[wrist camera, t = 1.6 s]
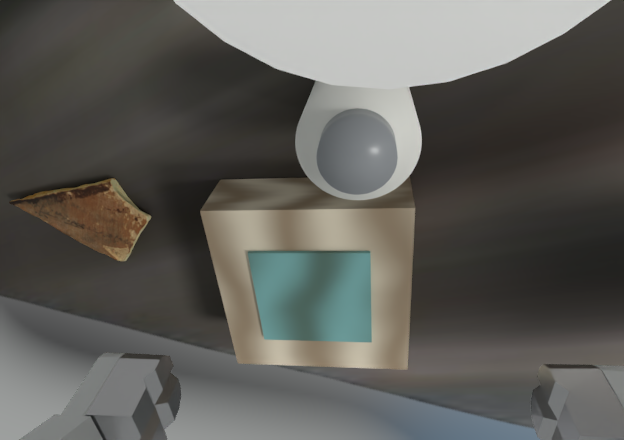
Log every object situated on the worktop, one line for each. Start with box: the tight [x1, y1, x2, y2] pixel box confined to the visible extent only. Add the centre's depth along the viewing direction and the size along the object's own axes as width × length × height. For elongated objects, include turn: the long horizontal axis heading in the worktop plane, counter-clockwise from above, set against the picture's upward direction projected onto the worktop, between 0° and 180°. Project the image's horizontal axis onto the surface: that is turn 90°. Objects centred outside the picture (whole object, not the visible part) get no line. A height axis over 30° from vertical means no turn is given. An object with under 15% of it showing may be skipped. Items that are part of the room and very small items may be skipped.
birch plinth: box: [200, 176, 415, 370], centre depth 36 cm, size 15×16×5 cm
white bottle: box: [295, 81, 422, 200], centre depth 25 cm, size 6×6×13 cm
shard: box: [9, 178, 151, 261], centre depth 38 cm, size 11×8×2 cm
